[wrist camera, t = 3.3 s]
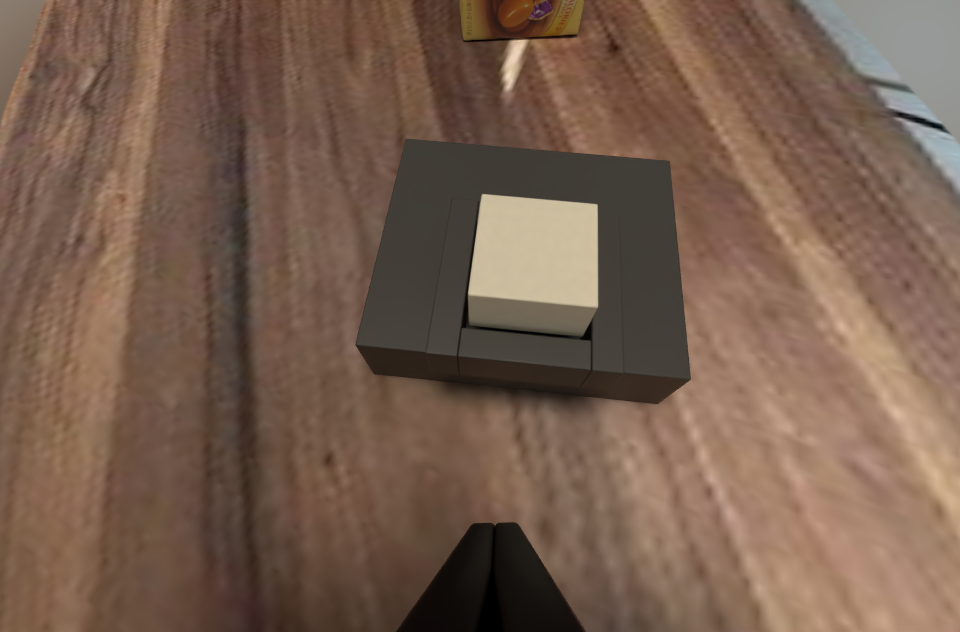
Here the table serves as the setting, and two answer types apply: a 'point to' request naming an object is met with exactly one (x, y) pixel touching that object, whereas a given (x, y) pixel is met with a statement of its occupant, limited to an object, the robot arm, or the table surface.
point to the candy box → (519, 18)
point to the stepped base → (513, 353)
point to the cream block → (534, 265)
